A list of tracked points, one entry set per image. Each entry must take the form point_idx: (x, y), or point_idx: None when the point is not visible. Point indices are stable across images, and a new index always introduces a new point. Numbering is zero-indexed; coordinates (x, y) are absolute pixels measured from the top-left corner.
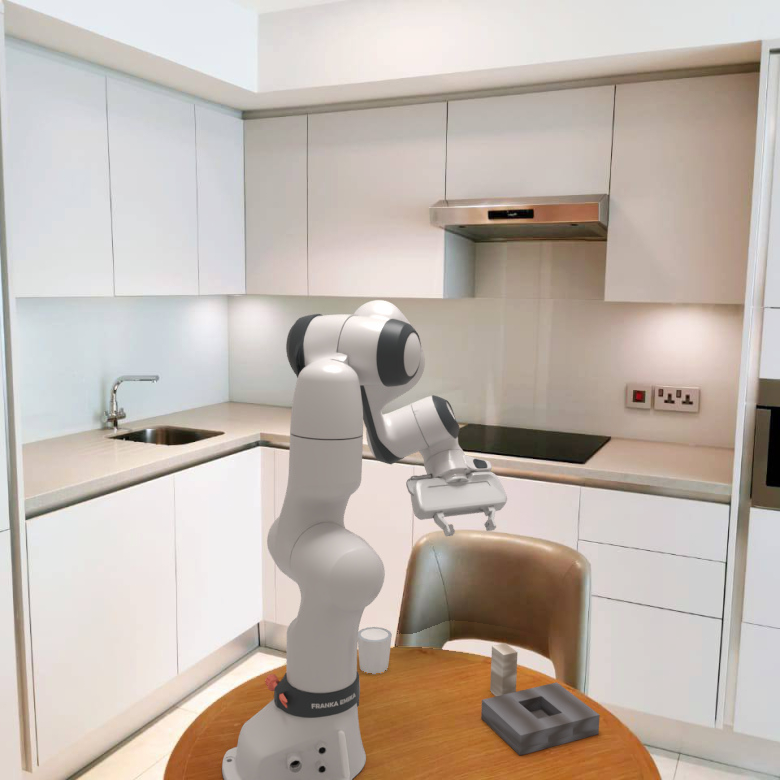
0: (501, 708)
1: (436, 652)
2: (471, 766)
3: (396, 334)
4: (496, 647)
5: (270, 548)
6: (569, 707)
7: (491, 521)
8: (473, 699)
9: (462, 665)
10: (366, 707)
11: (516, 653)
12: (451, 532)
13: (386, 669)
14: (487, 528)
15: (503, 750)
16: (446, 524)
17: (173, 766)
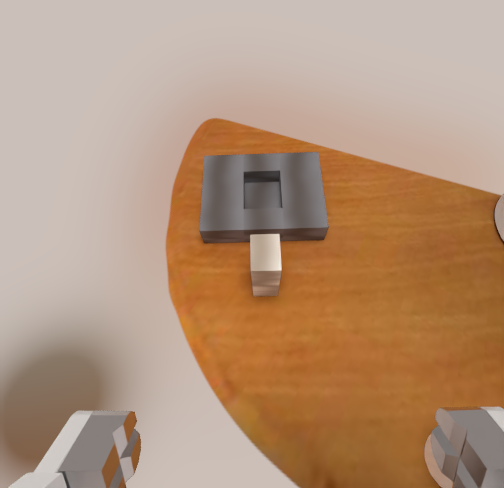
0: (312, 201)
1: (306, 473)
2: (373, 169)
3: None
4: (276, 262)
5: None
6: (227, 177)
7: (78, 450)
8: (312, 284)
9: (280, 394)
10: (482, 322)
11: (252, 235)
12: (469, 408)
13: (430, 435)
14: (133, 451)
15: (326, 180)
16: None
17: None
